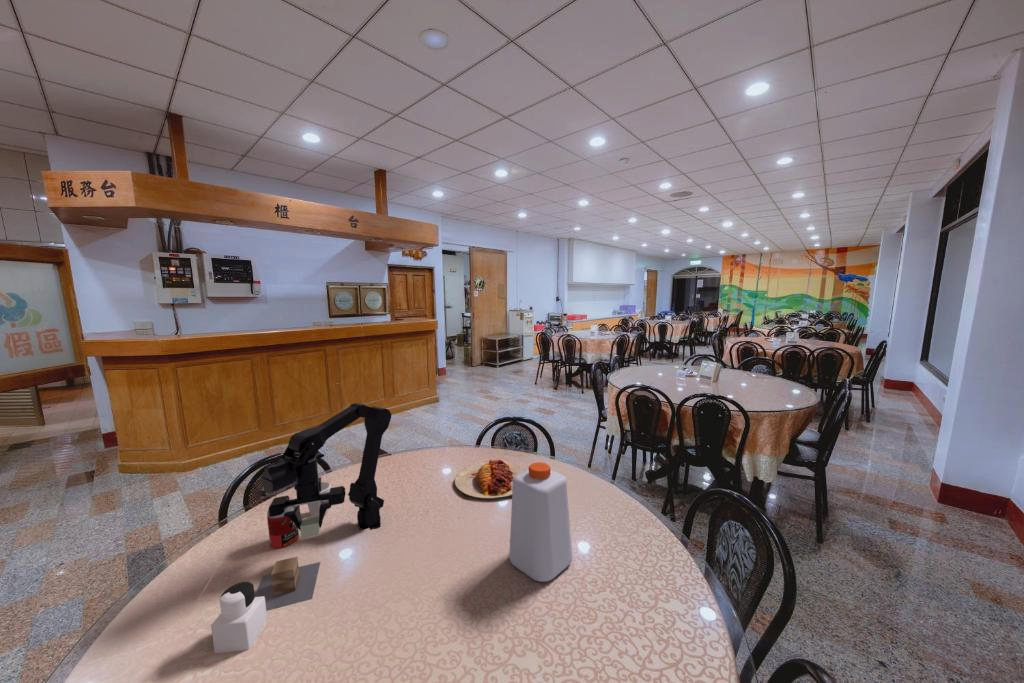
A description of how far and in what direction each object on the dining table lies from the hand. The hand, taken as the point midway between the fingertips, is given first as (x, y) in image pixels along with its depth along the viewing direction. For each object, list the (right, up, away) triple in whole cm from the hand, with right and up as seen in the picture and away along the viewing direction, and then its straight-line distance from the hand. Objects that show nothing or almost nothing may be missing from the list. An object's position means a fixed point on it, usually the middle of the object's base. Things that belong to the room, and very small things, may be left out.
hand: (311, 528), depth 106 cm
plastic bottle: (+66, -9, -2) cm, 67 cm away
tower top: (-1, -7, -10) cm, 13 cm away
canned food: (-13, -9, +9) cm, 18 cm away
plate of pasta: (+52, -4, +45) cm, 69 cm away
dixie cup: (-10, -7, +24) cm, 27 cm away
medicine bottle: (-2, -13, -24) cm, 27 cm away
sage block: (0, -1, 0) cm, 1 cm away
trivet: (-1, -11, -10) cm, 15 cm away
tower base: (-1, -10, -10) cm, 14 cm away
